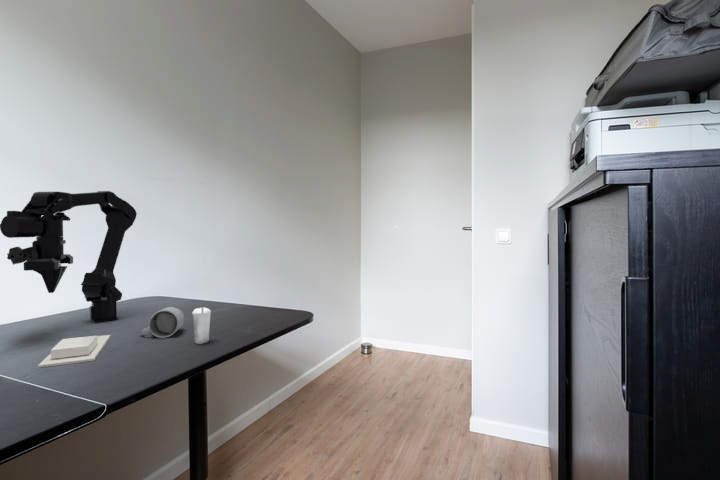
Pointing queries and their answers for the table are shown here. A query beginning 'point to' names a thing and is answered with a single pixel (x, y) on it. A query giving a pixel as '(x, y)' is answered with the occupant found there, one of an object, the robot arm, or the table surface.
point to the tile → (74, 347)
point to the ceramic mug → (164, 322)
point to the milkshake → (201, 324)
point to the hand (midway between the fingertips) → (51, 292)
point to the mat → (77, 359)
